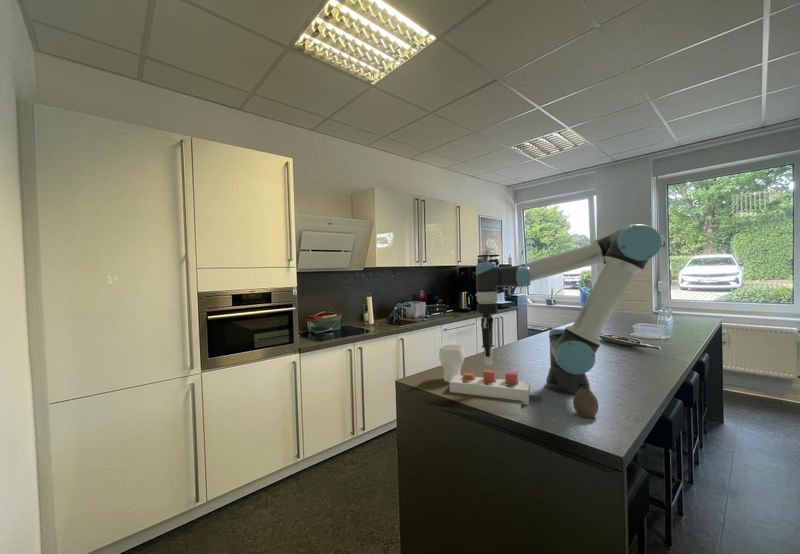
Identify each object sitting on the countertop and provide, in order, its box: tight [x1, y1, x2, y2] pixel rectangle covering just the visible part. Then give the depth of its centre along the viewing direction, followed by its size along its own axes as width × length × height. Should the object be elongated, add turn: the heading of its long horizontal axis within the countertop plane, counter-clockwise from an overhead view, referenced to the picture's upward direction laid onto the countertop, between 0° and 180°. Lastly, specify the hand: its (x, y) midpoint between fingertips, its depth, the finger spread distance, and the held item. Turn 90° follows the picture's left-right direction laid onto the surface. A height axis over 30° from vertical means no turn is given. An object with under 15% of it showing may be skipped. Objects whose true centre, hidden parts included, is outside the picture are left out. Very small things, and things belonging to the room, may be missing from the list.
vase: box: [572, 386, 599, 419], centre depth 101 cm, size 7×7×9 cm
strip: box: [448, 374, 542, 405], centre depth 120 cm, size 32×9×5 cm, turn 65°
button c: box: [462, 372, 476, 380], centre depth 126 cm, size 4×3×4 cm
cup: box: [438, 344, 465, 383], centre depth 137 cm, size 11×11×15 cm
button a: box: [504, 371, 519, 385], centre depth 119 cm, size 4×3×4 cm
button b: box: [482, 369, 497, 382], centre depth 123 cm, size 4×3×4 cm
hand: (488, 364), depth 122 cm, fingers closed
